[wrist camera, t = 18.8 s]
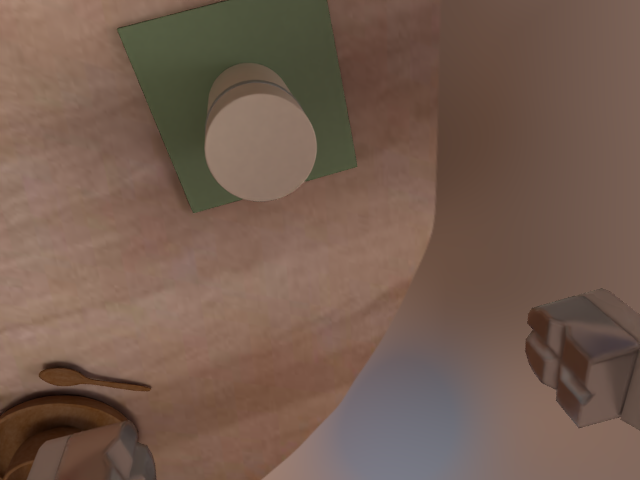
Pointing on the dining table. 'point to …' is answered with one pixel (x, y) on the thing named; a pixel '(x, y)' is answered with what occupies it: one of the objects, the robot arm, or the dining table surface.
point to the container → (257, 134)
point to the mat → (226, 51)
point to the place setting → (51, 420)
